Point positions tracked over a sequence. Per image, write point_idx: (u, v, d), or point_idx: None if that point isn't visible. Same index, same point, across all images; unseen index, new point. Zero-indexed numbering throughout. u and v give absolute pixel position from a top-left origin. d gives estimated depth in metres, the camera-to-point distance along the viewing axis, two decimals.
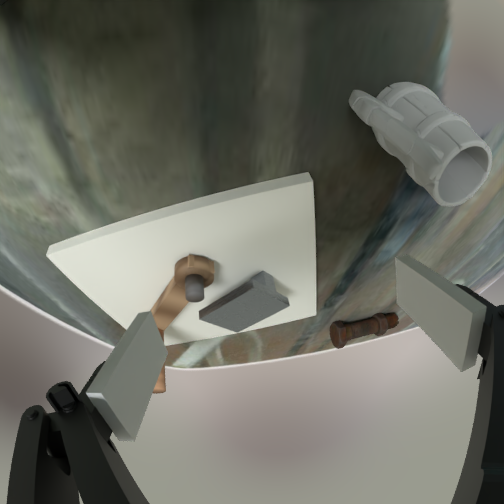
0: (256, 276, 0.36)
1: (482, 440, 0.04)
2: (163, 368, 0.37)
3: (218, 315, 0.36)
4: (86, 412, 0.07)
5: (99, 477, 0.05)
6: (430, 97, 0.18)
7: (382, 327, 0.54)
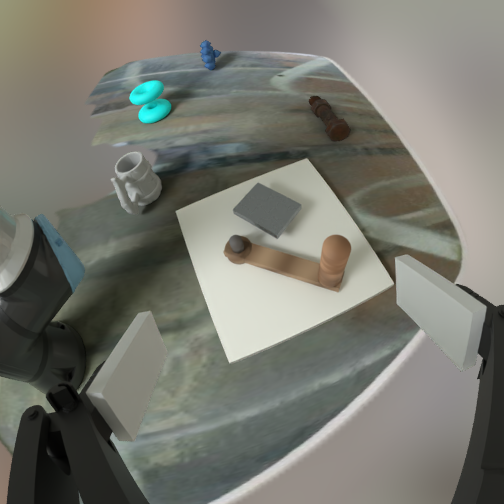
0: None
1: (482, 440, 0.04)
2: None
3: (270, 222, 0.47)
4: (86, 412, 0.07)
5: (99, 477, 0.05)
6: None
7: (315, 105, 0.62)
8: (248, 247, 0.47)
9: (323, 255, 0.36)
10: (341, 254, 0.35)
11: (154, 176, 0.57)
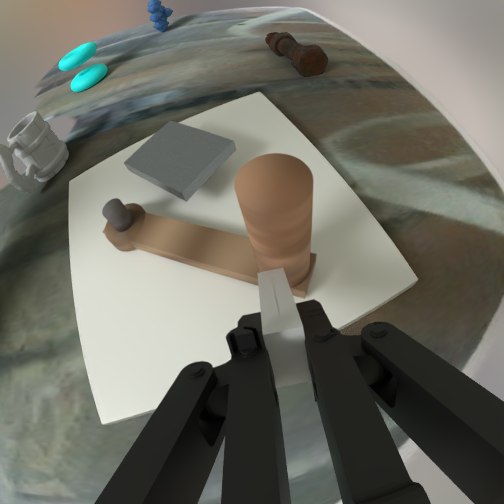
0: None
1: (343, 470, 0.05)
2: None
3: (174, 174, 0.25)
4: (266, 362, 0.09)
5: (256, 437, 0.06)
6: None
7: (274, 39, 0.40)
8: (139, 220, 0.25)
9: (239, 205, 0.14)
10: (285, 196, 0.13)
11: (55, 141, 0.35)
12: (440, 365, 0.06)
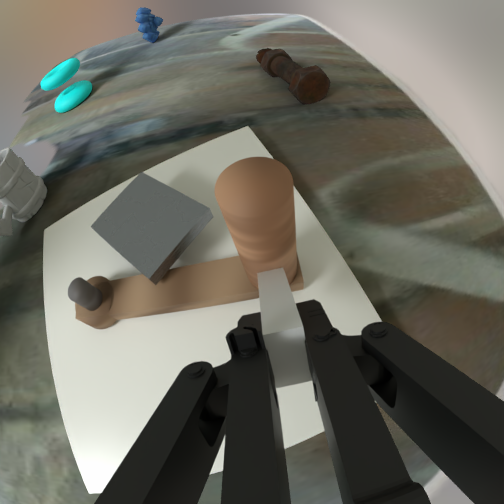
0: None
1: (343, 470, 0.05)
2: None
3: (141, 251, 0.21)
4: (266, 362, 0.09)
5: (255, 437, 0.06)
6: None
7: (267, 58, 0.37)
8: (108, 290, 0.22)
9: (230, 221, 0.13)
10: (273, 193, 0.13)
11: (30, 180, 0.32)
12: (440, 365, 0.06)
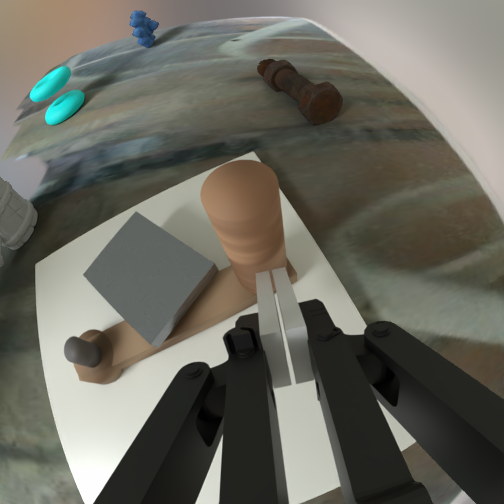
0: None
1: None
2: None
3: (140, 311, 0.19)
4: (263, 362, 0.09)
5: (253, 437, 0.06)
6: None
7: (270, 71, 0.34)
8: (104, 342, 0.20)
9: (226, 229, 0.13)
10: (261, 191, 0.13)
11: (19, 206, 0.29)
12: (443, 364, 0.06)
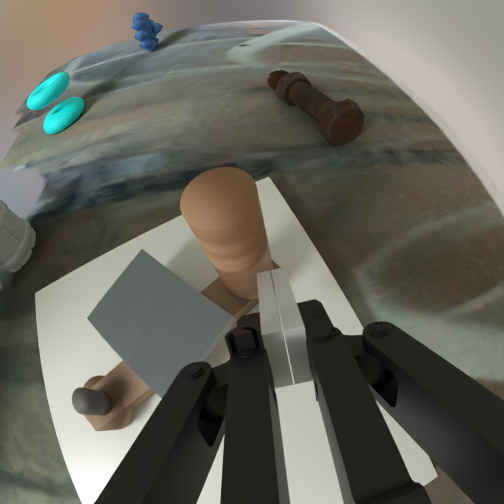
0: None
1: (344, 470, 0.05)
2: None
3: (152, 365, 0.17)
4: (265, 362, 0.09)
5: (255, 437, 0.06)
6: None
7: (284, 84, 0.32)
8: (110, 386, 0.18)
9: (215, 238, 0.13)
10: (241, 194, 0.13)
11: (15, 228, 0.28)
12: (441, 364, 0.06)
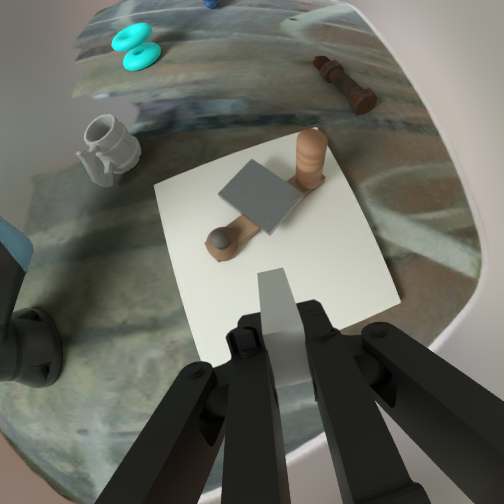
0: None
1: (343, 470, 0.05)
2: None
3: (262, 216, 0.38)
4: (266, 362, 0.09)
5: (255, 437, 0.06)
6: None
7: (326, 69, 0.45)
8: (228, 232, 0.39)
9: (310, 156, 0.32)
10: (321, 141, 0.31)
11: (131, 141, 0.45)
12: (440, 364, 0.06)
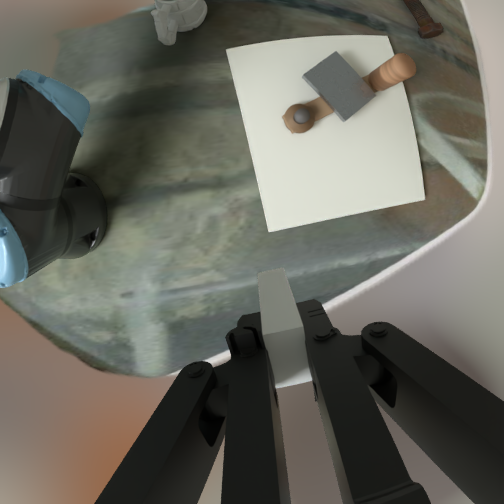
0: None
1: (343, 470, 0.05)
2: (384, 65, 0.31)
3: (341, 104, 0.37)
4: (266, 362, 0.09)
5: (255, 437, 0.06)
6: None
7: None
8: (306, 109, 0.39)
9: (400, 76, 0.30)
10: (411, 68, 0.28)
11: (202, 3, 0.33)
12: (440, 365, 0.06)
